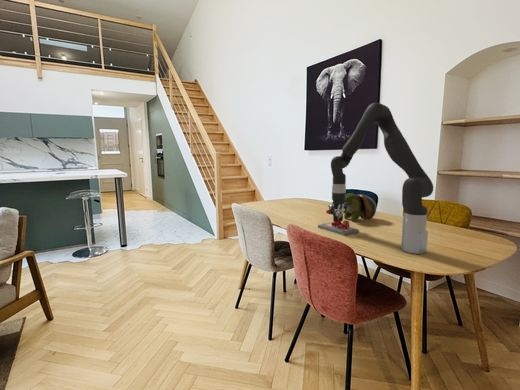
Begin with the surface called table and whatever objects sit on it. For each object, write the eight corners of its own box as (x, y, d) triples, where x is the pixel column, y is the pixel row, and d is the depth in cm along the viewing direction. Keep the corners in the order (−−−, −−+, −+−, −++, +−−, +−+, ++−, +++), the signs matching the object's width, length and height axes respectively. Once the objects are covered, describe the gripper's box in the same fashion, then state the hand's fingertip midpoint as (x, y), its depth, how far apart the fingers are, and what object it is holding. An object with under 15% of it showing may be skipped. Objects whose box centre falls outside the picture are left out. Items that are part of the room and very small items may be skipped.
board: (358, 232, 158) (358, 229, 157) (343, 235, 151) (343, 232, 151) (332, 224, 174) (332, 222, 174) (317, 227, 168) (317, 224, 168)
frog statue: (374, 228, 183) (343, 220, 174) (359, 221, 197) (330, 214, 189) (384, 200, 181) (353, 191, 172) (368, 196, 195) (339, 187, 187)
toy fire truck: (347, 229, 157) (347, 212, 155) (325, 225, 166) (326, 209, 165) (350, 228, 159) (350, 211, 157) (328, 224, 169) (329, 208, 167)
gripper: (334, 193, 153) (334, 224, 155) (352, 191, 160) (351, 220, 163) (324, 192, 159) (324, 221, 162) (342, 190, 166) (341, 218, 169)
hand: (338, 221), depth 162 cm, fingers closed on toy fire truck, 3 cm apart
